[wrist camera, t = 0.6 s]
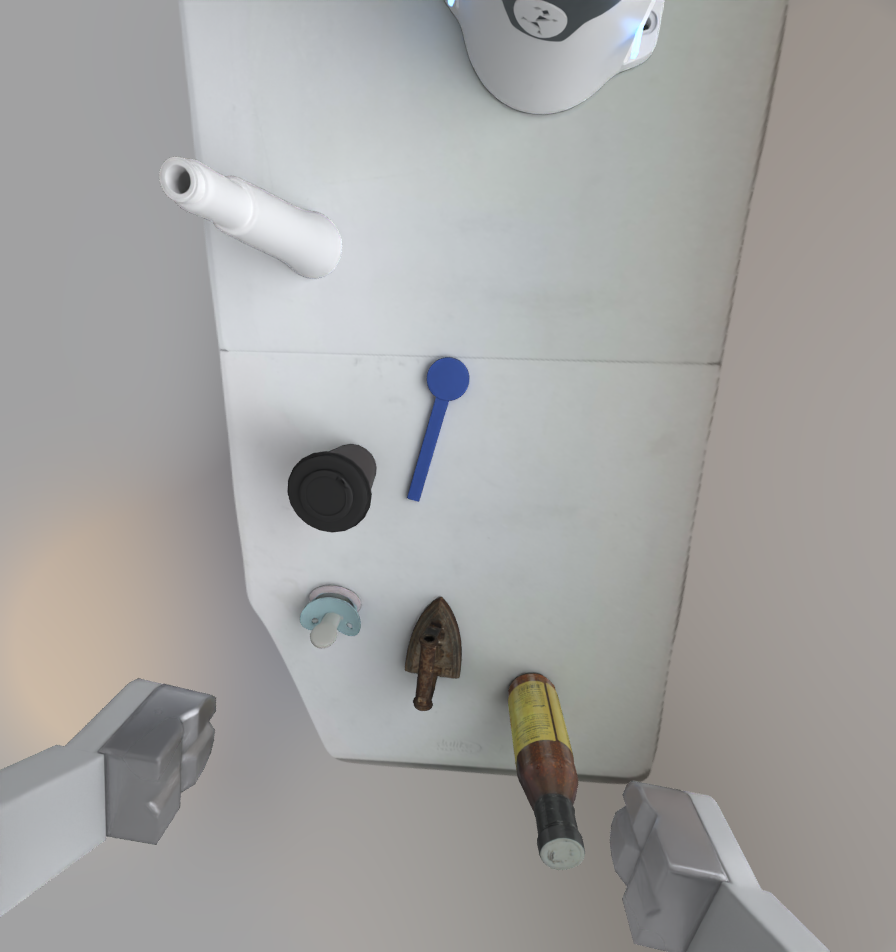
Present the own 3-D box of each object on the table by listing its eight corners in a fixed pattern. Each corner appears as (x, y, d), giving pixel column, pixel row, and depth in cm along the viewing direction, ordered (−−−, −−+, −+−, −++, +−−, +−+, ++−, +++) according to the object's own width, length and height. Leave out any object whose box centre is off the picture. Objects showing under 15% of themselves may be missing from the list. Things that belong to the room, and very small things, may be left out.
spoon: (432, 504, 54) (431, 506, 53) (394, 492, 54) (393, 495, 53) (474, 364, 49) (474, 365, 49) (433, 351, 49) (433, 352, 48)
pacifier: (308, 579, 58) (306, 621, 60) (289, 606, 52) (286, 652, 54) (367, 587, 58) (363, 630, 60) (354, 615, 52) (350, 662, 54)
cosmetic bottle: (270, 249, 47) (104, 186, 26) (305, 197, 46) (158, 86, 25) (318, 292, 48) (195, 264, 27) (355, 242, 47) (253, 171, 26)
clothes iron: (405, 670, 62) (385, 711, 52) (415, 585, 61) (396, 610, 51) (459, 680, 61) (448, 724, 51) (470, 594, 60) (461, 621, 50)
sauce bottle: (498, 698, 62) (507, 862, 43) (521, 662, 60) (540, 817, 41) (544, 717, 62) (572, 889, 43) (567, 682, 60) (608, 845, 41)
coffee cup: (397, 445, 52) (378, 471, 43) (377, 510, 55) (356, 548, 45) (327, 421, 52) (292, 442, 43) (310, 488, 55) (274, 521, 45)
